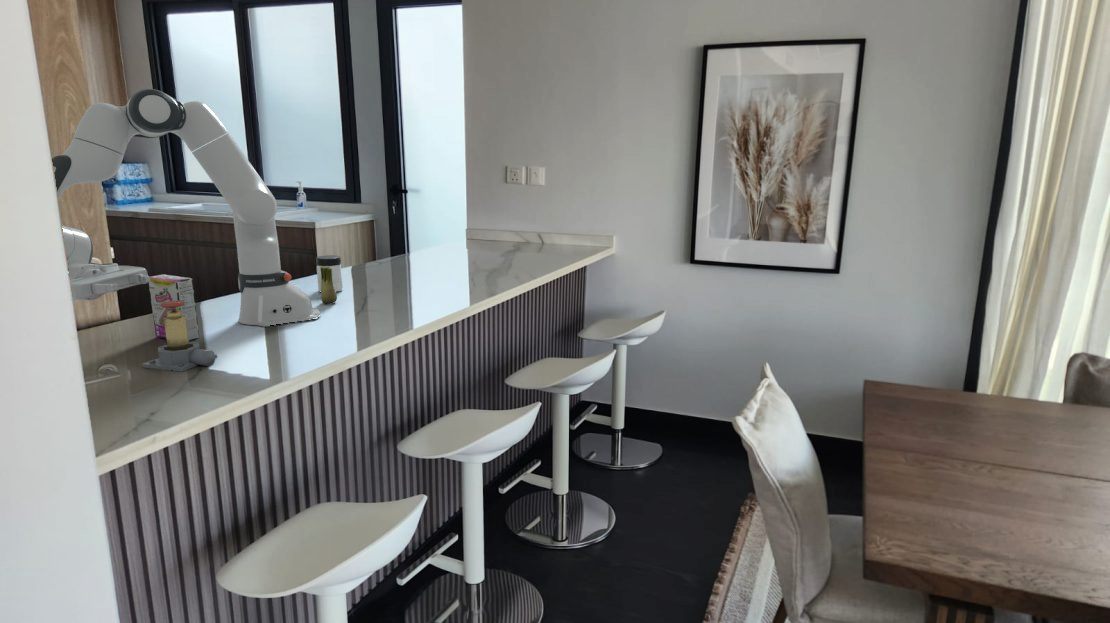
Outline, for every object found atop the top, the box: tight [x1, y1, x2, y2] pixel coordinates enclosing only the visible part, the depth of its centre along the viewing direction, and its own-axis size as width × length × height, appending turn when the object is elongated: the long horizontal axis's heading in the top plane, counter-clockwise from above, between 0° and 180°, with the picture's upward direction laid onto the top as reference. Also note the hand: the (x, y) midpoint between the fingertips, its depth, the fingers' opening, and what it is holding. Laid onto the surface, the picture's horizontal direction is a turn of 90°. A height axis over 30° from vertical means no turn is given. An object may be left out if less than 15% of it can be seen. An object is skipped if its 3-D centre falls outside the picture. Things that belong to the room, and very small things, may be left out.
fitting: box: [141, 341, 218, 373], centre depth 160 cm, size 14×11×4 cm
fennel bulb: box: [320, 267, 338, 304], centre depth 221 cm, size 6×5×12 cm
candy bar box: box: [148, 274, 200, 342], centre depth 180 cm, size 11×5×16 cm, turn 66°
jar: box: [315, 254, 343, 292], centre depth 240 cm, size 9×8×12 cm
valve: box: [161, 300, 190, 351], centre depth 159 cm, size 5×5×14 cm
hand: (131, 283), depth 163 cm, fingers open, 8 cm apart
